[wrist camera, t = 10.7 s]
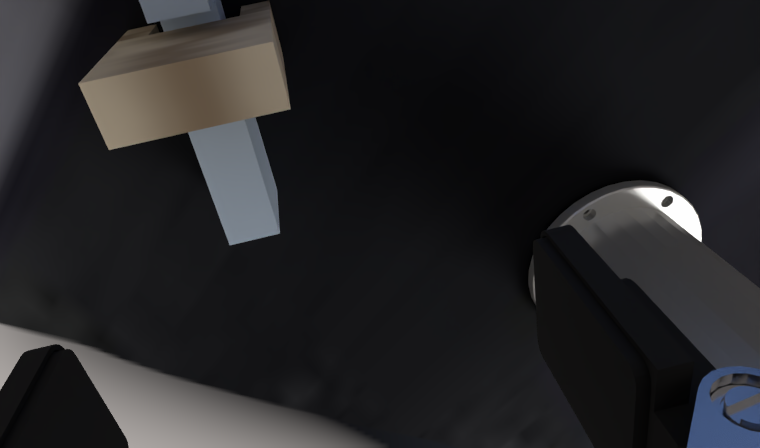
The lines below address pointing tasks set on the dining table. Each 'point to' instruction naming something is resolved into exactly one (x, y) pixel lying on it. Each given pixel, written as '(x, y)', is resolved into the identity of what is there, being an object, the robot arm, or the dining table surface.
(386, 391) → the dining table surface
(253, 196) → the plain gray rectangular bar
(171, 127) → the notched wooden block
